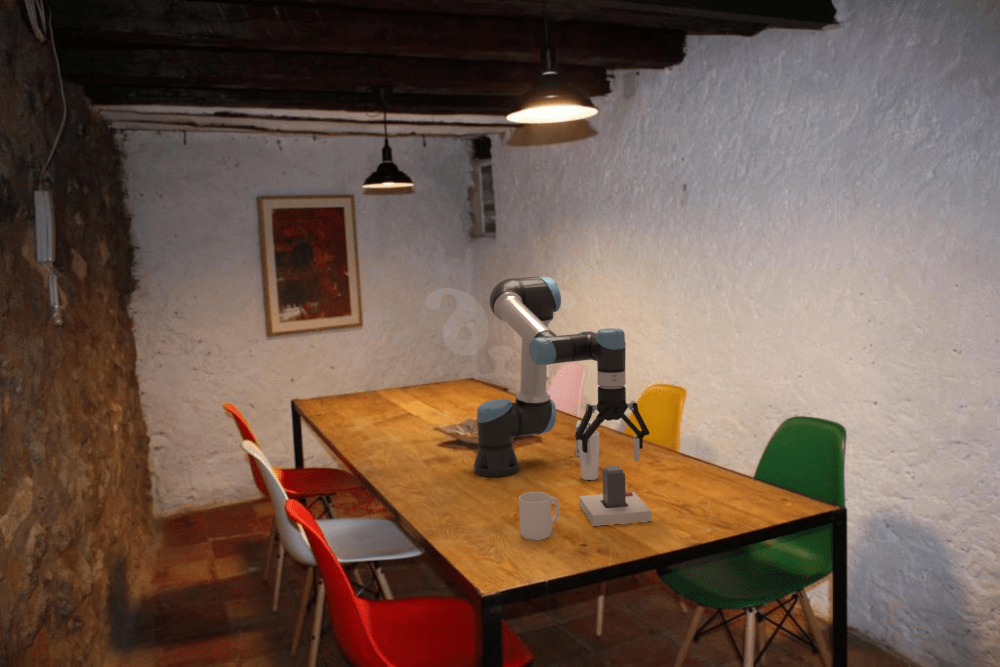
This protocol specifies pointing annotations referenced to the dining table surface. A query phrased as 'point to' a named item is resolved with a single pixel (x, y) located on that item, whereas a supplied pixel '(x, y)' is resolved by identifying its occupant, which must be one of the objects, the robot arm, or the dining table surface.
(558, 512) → the cup
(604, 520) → the socket
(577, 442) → the light bulb box
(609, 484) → the plug
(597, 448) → the drinking glass
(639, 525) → the dining table surface
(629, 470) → the dining table surface
